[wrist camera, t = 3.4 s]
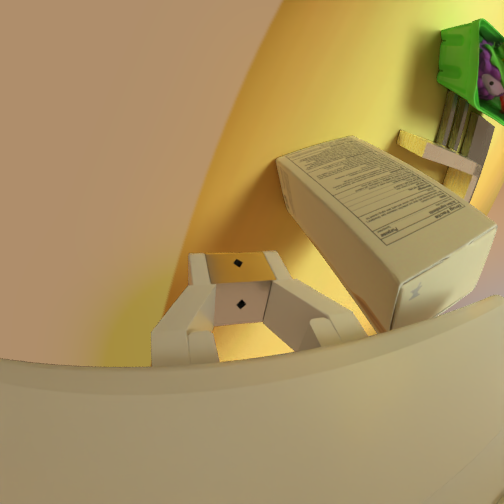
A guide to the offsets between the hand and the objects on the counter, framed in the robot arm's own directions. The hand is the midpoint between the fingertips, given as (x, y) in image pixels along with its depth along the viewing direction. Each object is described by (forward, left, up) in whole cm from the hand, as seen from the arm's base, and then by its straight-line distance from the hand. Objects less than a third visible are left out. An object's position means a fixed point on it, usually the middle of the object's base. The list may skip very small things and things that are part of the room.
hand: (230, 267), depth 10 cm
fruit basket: (-14, +21, -9) cm, 27 cm away
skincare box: (-1, +8, -9) cm, 12 cm away
